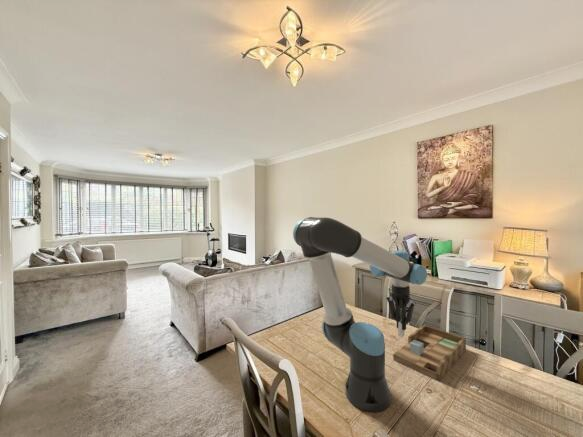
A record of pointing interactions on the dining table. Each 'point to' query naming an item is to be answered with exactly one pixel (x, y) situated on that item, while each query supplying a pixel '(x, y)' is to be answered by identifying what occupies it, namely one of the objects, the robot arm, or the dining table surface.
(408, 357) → the box
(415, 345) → the block
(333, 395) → the dining table surface
